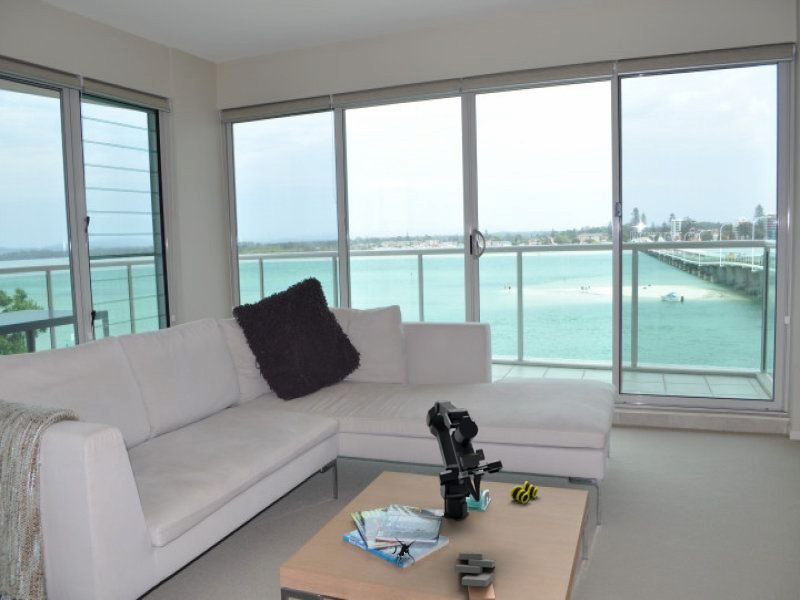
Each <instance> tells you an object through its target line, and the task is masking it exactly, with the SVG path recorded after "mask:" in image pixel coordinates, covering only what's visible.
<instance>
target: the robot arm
mask: <svg viewBox="0 0 800 600" xmlns="http://www.w3.org/2000/svg"><path fill="white" fill-rule="evenodd" d="M425 421H426V426H427V427H428V429H429V432H430V434H432V436H434V437H435V438H436V441H437V445H438V448H439V451H440V456H441V460H442V462H443V463H442V464H443V467H444V471H439V474H438V476H437V477H438V478H437V480H438V484H439V486H440V487H439V491H440V496H441V499H442V500H443V503H444V508H443V509H444V512H443V513H444V516H443V517H444V518H448V519H451V520H453V521H454V520H455V521H460V520H461V519H463V518H465V517H467V516H468V515H470V512H469V511H468V502H467V498H471V496H472V497H473V499H474V501H475V502H476V503H479V502H480V500H481V499H480V497H481V494H480V493H481V482H482V480H483V479H484V477H485V475H486V474H485V472H486V473H488V474H490V475H493V474H497V473H501V472H502V470H503V468H504V466H503V464H502V461H501V459H500V458H496V459H495V458H494V459H491V460H488V461H486V464H485V465H481V463H480V462H481V461H485V460H486V457H485V453H484V449H483V448H479V449H474V445H473V443H472V442H473V440H475V438H476V436H477V434H478V433H479V427H478V425H477V424H476V420H475V418H474V417H473V416H472V415H471V413H470V411H469V410H468V409H467V408H465V407H464V408H458V407H456V406H455V405H454V404H452V402H451V401H450V400H437V401H435V402H434V405H433V406H432V407H431V408H430V409H428V410H427V414H426V420H425ZM452 429H454V430H453V431H452ZM451 431H452V432H451ZM471 476H473V480H472V479H471ZM472 481H473V483H472Z"/></svg>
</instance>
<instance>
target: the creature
mask: <svg viewBox="0 0 800 600" xmlns="http://www.w3.org/2000/svg"><path fill="white" fill-rule="evenodd" d="M395 539H396V541H397V542H399V544H400V545H399V547H400V551H399V552H398V553H397V550H398V547H397V546H394V548H395V549H394V551H393V552H392V553H391V554H393V555H395V554H396V553H397V555H396V558H395V562H397V561H398V563H397V565H398V566H399V564H400V561H402V556H403V557H404V556H405V555H404V552H405V553H406V554H407V556H408V555H409V558H411V559H412V560H413V563H412V564H411V566H413V565H414V564H415V561H416V559H415V558H414V557H413V556H412V555H411V554H410V551H409V550H410V549H409V548H410V547H411V545H413V543H415V542H416V541H417V539H415V540H414V541H412V542H411V543H409V544H406V543H403V542H401V541H400V540H399V539H398V538H397V537H395ZM398 555H399V557H398ZM386 560H387V562H389V560H388V559H387V558H386Z"/></svg>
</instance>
